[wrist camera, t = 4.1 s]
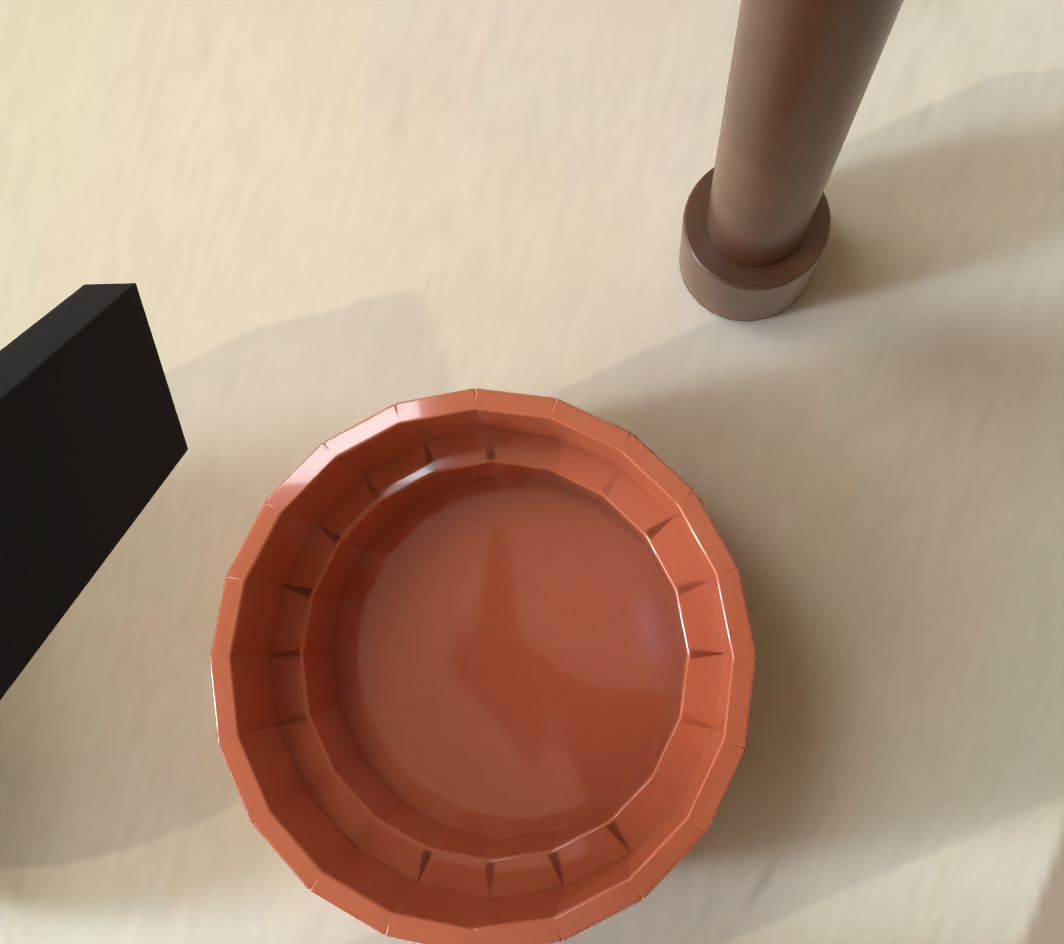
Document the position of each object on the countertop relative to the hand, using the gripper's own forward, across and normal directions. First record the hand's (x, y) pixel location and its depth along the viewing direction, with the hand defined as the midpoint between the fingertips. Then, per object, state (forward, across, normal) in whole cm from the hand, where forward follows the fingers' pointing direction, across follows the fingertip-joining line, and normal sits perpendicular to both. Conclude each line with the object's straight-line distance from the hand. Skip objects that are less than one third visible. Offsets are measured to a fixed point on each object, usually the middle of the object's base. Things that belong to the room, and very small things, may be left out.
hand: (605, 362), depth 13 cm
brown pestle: (+19, -4, +6) cm, 20 cm away
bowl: (+10, +4, +15) cm, 19 cm away
